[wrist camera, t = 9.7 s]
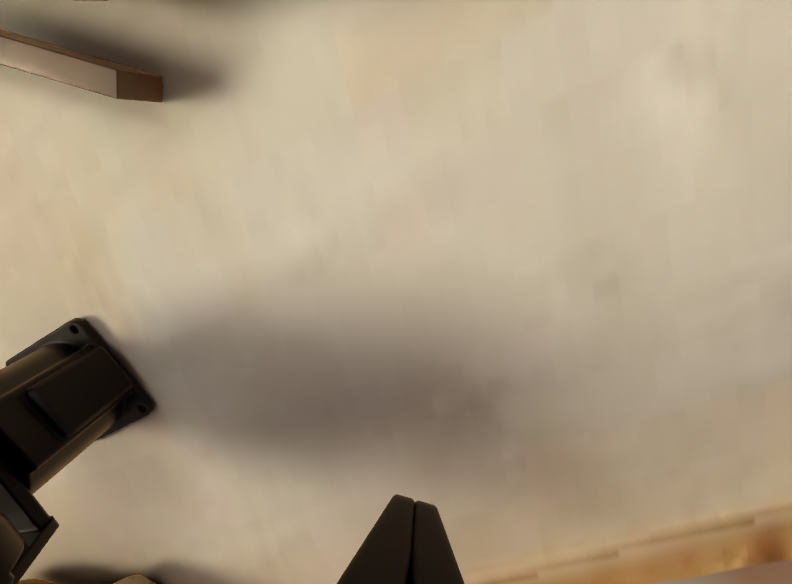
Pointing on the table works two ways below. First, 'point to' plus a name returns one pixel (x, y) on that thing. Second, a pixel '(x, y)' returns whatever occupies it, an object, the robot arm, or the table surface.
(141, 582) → the ceramic sculpture
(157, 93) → the block
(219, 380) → the table surface
